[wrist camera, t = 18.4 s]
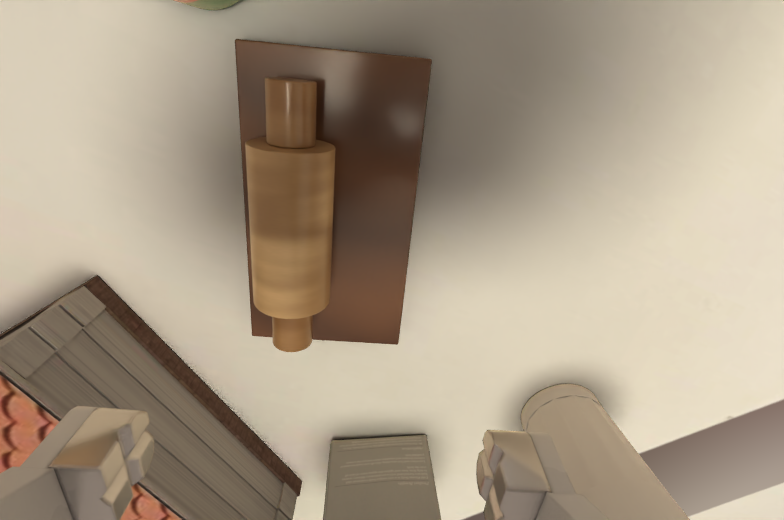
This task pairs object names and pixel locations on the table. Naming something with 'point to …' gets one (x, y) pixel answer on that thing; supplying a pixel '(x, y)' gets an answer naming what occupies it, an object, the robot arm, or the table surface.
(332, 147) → the rolling pin
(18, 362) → the model house
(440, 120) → the table surface
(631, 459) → the cup
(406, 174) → the board
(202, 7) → the soda can
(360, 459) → the cosmetic box
